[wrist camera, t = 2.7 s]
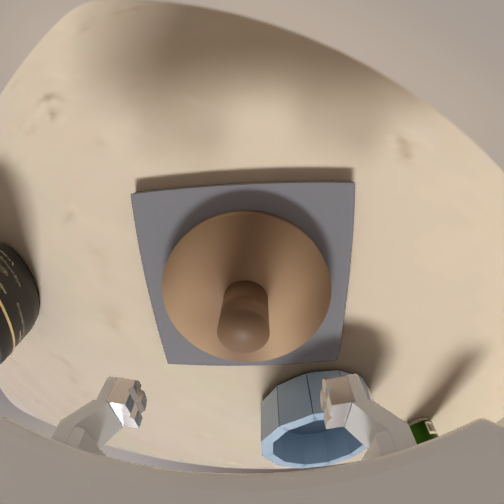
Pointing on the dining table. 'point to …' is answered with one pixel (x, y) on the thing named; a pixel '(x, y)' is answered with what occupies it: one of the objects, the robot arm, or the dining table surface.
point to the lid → (246, 286)
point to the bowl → (304, 425)
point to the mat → (261, 199)
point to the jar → (15, 301)
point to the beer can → (422, 430)
